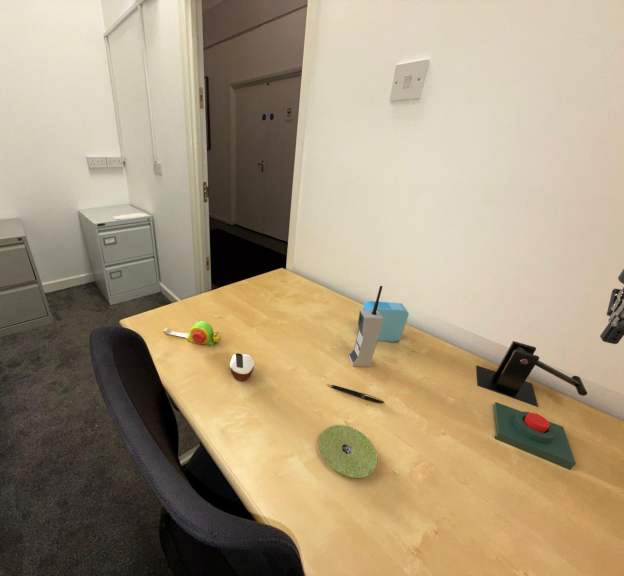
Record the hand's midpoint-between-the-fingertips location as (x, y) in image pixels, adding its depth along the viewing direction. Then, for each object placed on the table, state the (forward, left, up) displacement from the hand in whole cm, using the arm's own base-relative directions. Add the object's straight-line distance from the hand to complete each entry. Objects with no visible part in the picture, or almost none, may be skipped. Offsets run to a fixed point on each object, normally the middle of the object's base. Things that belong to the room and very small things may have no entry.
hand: (607, 340), depth 61 cm
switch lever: (+4, -3, -13) cm, 14 cm away
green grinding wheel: (+38, +39, -22) cm, 59 cm away
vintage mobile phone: (+43, +9, -22) cm, 49 cm away
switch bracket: (+9, -3, -22) cm, 24 cm away
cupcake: (+68, +33, -22) cm, 79 cm away
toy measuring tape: (+90, +28, -22) cm, 97 cm away
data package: (+41, -7, -22) cm, 47 cm away
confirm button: (+6, +12, -18) cm, 22 cm away
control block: (+6, +12, -22) cm, 25 cm away
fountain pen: (+41, +22, -22) cm, 52 cm away
